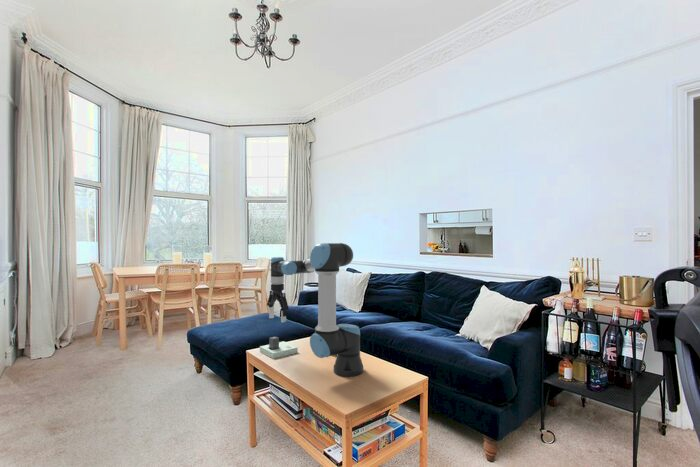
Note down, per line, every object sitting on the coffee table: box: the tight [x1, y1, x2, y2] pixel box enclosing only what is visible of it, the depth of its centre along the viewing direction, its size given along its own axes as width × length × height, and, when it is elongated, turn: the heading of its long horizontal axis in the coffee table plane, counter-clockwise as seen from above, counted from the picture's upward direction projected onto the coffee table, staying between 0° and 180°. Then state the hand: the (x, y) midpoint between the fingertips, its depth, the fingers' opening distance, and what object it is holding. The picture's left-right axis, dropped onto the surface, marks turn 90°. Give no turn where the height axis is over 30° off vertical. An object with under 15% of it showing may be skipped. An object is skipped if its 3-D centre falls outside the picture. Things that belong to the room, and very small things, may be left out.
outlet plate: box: [259, 341, 299, 359], centre depth 208 cm, size 16×16×3 cm
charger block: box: [268, 336, 280, 350], centre depth 206 cm, size 4×4×9 cm
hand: (277, 320), depth 206 cm, fingers open, 13 cm apart
